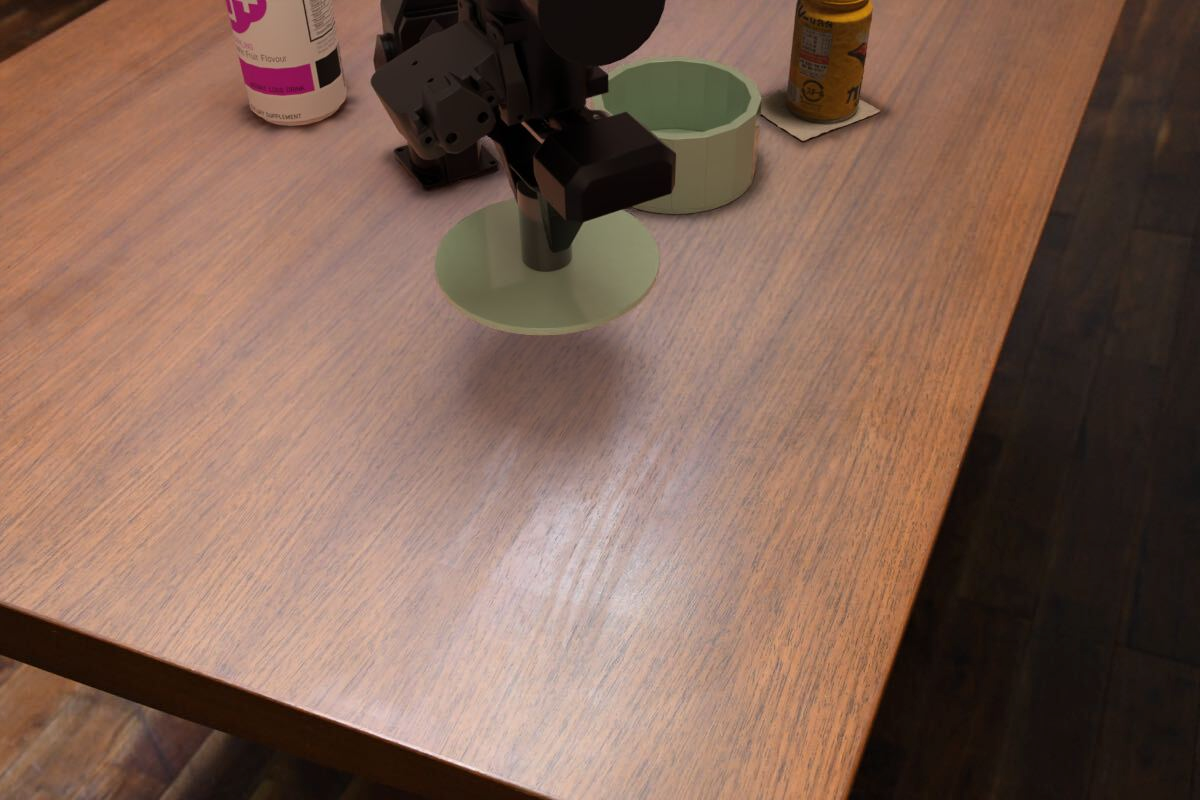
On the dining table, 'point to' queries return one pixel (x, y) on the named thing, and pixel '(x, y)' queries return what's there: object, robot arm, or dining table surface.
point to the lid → (544, 269)
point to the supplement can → (289, 58)
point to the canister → (692, 125)
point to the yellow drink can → (824, 69)
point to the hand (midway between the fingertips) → (546, 235)
